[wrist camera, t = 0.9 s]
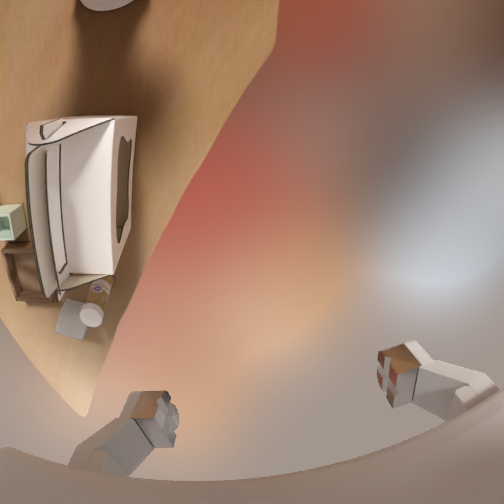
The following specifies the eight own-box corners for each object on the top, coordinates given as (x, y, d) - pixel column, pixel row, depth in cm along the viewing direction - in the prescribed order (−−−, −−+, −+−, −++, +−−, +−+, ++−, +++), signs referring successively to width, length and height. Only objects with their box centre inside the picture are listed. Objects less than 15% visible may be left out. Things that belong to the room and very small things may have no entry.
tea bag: (66, 297, 56) (54, 325, 48) (92, 304, 59) (83, 333, 50) (66, 309, 58) (55, 337, 49) (91, 316, 60) (83, 345, 52)
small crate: (4, 228, 45) (-9, 240, 40) (0, 205, 43) (-14, 215, 38) (26, 227, 47) (14, 240, 42) (23, 203, 45) (9, 213, 39)
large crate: (9, 242, 47) (1, 250, 43) (46, 241, 50) (39, 250, 46) (22, 291, 53) (16, 300, 49) (58, 292, 55) (52, 303, 52)
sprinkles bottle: (111, 269, 56) (98, 308, 45) (116, 287, 58) (104, 328, 47) (92, 270, 55) (75, 309, 44) (97, 288, 57) (83, 328, 46)
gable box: (131, 229, 53) (99, 325, 29) (71, 227, 50) (10, 314, 26) (138, 114, 44) (88, 119, 20) (71, 115, 40) (-20, 130, 16)
